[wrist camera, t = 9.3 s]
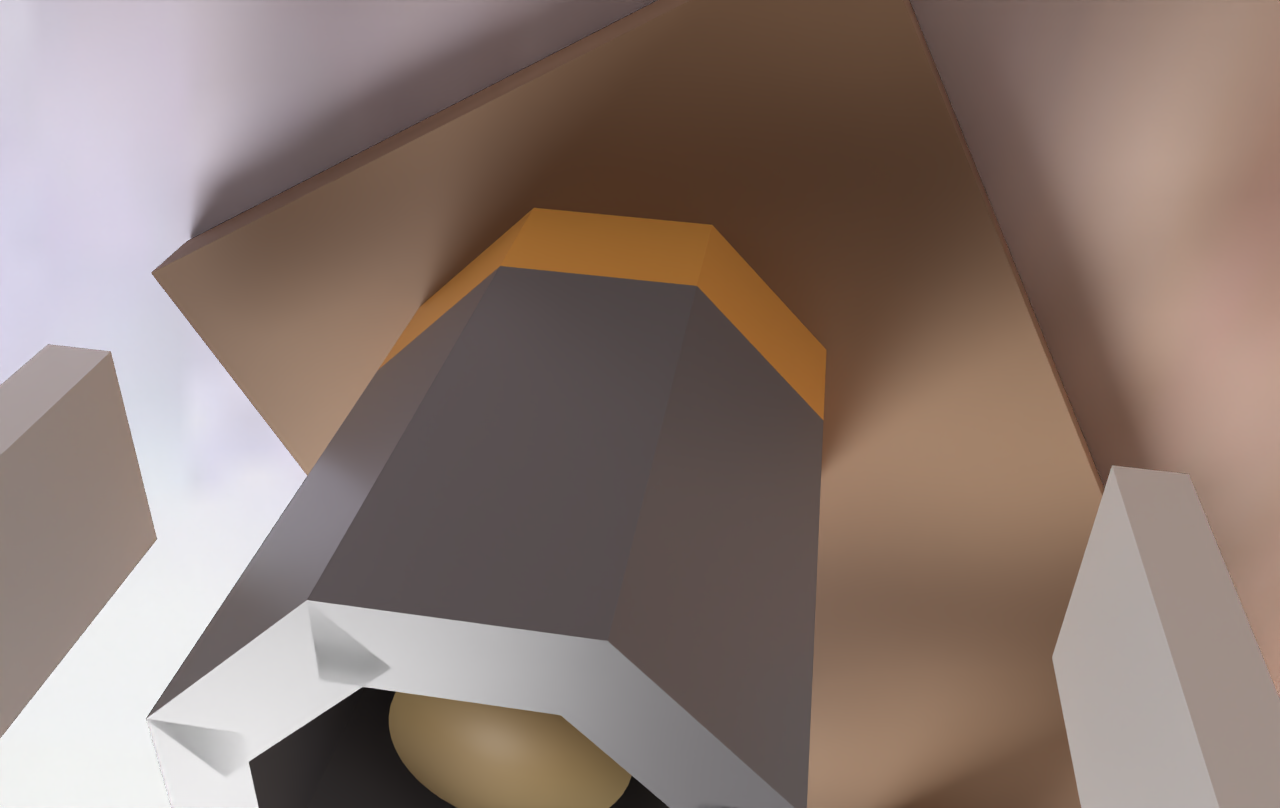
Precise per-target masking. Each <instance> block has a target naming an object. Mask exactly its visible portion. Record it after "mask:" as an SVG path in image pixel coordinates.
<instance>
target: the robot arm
mask: <svg viewBox="0 0 1280 808" xmlns="http://www.w3.org/2000/svg"><path fill="white" fill-rule="evenodd" d="M156 540H157V537H156V533H155V529H154V525H153V521H152V517H151V513H150V509H149V505H148V501H147V497H146V493H145V489H144V485H143V481H142V476H141V472H140V468H139V464H138V460H137V456H136V452H135V448H134V444H133V440H132V436H131V432H130V428H129V424H128V420H127V416H126V411H125V407H124V403H123V399H122V395H121V391H120V387H119V383H118V379H117V375H116V371H115V367H114V363H113V359H112V355H111V351H102V350H94V349H85V348H76V347H67V346H58V345H50V344H48V345H47V346H46V347H44V348H43V349H42V350H41V351H40V352H39V353H37V354H36V355H35V356H34V357H33V358H32V359H30V360H29V361H28V362H27V363H26V364H25V365H23V366H22V367H21V368H20V369H19V370H18V371H16V372H15V373H14V374H13V375H12V376H11V377H9V378H8V379H7V380H6V381H5V382H4V383H2V384H1V385H0V738H1V737H2V735H3V734H4V733H5V732H6V730H7V729H8V728H9V727H10V725H11V724H12V723H13V721H14V720H15V719H16V718H17V716H18V715H19V714H20V713H21V711H22V710H23V709H24V707H25V706H26V705H27V704H28V702H29V701H30V700H31V699H32V697H33V696H34V695H35V694H36V692H37V691H38V690H39V688H40V687H41V686H42V685H43V683H44V682H45V681H46V680H47V678H48V677H49V676H50V674H51V673H52V672H53V671H54V669H55V668H56V667H57V666H58V664H59V663H60V662H61V660H62V659H63V658H64V657H65V655H66V654H67V653H68V652H69V650H70V649H71V648H72V646H73V645H74V644H75V643H76V641H77V640H78V639H79V638H80V636H81V635H82V634H83V633H84V631H85V630H86V629H87V627H88V626H89V625H90V624H91V622H92V621H93V620H94V619H95V617H96V616H97V615H98V613H99V612H100V611H101V610H102V608H103V607H104V606H105V605H106V603H107V602H108V601H109V599H110V598H111V597H112V596H113V594H114V593H115V592H116V591H117V589H118V588H119V587H120V585H121V584H122V583H123V582H124V580H125V579H126V578H127V577H128V575H129V574H130V573H131V572H132V570H133V569H134V568H135V566H136V565H137V564H138V563H139V561H140V560H141V559H142V558H143V556H144V555H145V554H146V552H147V551H148V550H149V549H150V547H151V546H152V545H153V544H154V542H155V541H156ZM1052 660H1053V665H1054V670H1055V675H1056V680H1057V686H1058V691H1059V696H1060V701H1061V706H1062V711H1063V716H1064V722H1065V727H1066V732H1067V737H1068V742H1069V747H1070V752H1071V758H1072V763H1073V768H1074V773H1075V778H1076V783H1077V789H1078V794H1079V799H1080V804H1081V808H1280V698H1279V696H1278V693H1277V691H1276V688H1275V686H1274V683H1273V681H1272V678H1271V676H1270V674H1269V671H1268V669H1267V666H1266V664H1265V661H1264V659H1263V656H1262V654H1261V651H1260V649H1259V646H1258V644H1257V641H1256V639H1255V636H1254V634H1253V631H1252V629H1251V626H1250V624H1249V622H1248V619H1247V617H1246V614H1245V612H1244V609H1243V607H1242V604H1241V602H1240V599H1239V597H1238V594H1237V592H1236V589H1235V587H1234V584H1233V582H1232V579H1231V577H1230V574H1229V572H1228V569H1227V567H1226V565H1225V562H1224V560H1223V557H1222V555H1221V552H1220V550H1219V547H1218V545H1217V542H1216V540H1215V537H1214V535H1213V532H1212V530H1211V527H1210V525H1209V522H1208V520H1207V517H1206V515H1205V513H1204V510H1203V508H1202V505H1201V503H1200V500H1199V498H1198V495H1197V493H1196V490H1195V488H1194V485H1193V483H1192V480H1191V478H1190V475H1189V474H1184V473H1175V472H1167V471H1158V470H1149V469H1140V468H1131V467H1123V466H1114V465H1112V467H1111V470H1110V473H1109V477H1108V480H1107V483H1106V486H1105V489H1104V493H1103V496H1102V499H1101V502H1100V505H1099V509H1098V512H1097V515H1096V518H1095V521H1094V525H1093V528H1092V531H1091V534H1090V537H1089V541H1088V544H1087V547H1086V550H1085V553H1084V557H1083V560H1082V563H1081V566H1080V569H1079V573H1078V576H1077V579H1076V582H1075V585H1074V589H1073V592H1072V595H1071V598H1070V601H1069V605H1068V608H1067V611H1066V614H1065V617H1064V621H1063V624H1062V627H1061V630H1060V633H1059V637H1058V640H1057V643H1056V646H1055V649H1054V653H1053V656H1052Z"/></svg>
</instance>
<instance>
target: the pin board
mask: <svg viewBox="0 0 1280 808" xmlns="http://www.w3.org/2000/svg"><path fill="white" fill-rule="evenodd" d="M533 208H541V209H552V210H562V211H573V212H583V213H594V214H604V215H615V216H625V217H636V218H646V219H657V220H667V221H678V222H688V223H699V224H709V225H713V226H714V227H715V228H716V229H717V231H718V232H719V233H720V234H721V235H722V236H723V237H724V238H725V239H726V240H727V241H728V243H729V244H730V245H731V246H732V247H733V248H734V249H735V250H736V251H737V252H738V254H739V255H740V256H741V257H742V258H743V259H744V260H745V261H746V262H747V263H748V264H749V266H750V267H751V268H752V269H753V270H754V271H755V272H756V273H757V274H758V275H759V277H760V278H761V279H762V280H763V281H764V282H765V283H766V284H767V285H768V286H769V287H770V289H771V290H772V291H773V292H774V293H775V294H776V295H777V296H778V297H779V298H780V300H781V301H782V302H783V303H784V304H785V305H786V306H787V307H788V308H789V309H790V310H791V312H792V313H793V314H794V315H795V316H796V317H797V318H798V319H799V320H800V321H801V323H802V324H803V325H804V326H805V327H806V328H807V329H808V330H809V331H810V332H811V333H812V335H813V336H814V337H815V338H816V339H817V340H818V341H819V342H820V343H821V344H822V346H823V347H824V348H825V349H826V374H825V397H824V420H823V444H822V467H821V490H820V514H819V537H818V561H817V584H816V607H815V631H814V654H813V677H812V701H811V724H810V748H809V771H808V794H807V808H1081V804H1080V799H1079V794H1078V789H1077V783H1076V778H1075V773H1074V768H1073V763H1072V758H1071V752H1070V747H1069V742H1068V737H1067V732H1066V727H1065V722H1064V716H1063V711H1062V706H1061V701H1060V696H1059V691H1058V686H1057V680H1056V675H1055V670H1054V665H1053V660H1052V656H1053V653H1054V649H1055V646H1056V643H1057V640H1058V637H1059V633H1060V630H1061V627H1062V624H1063V621H1064V617H1065V614H1066V611H1067V608H1068V605H1069V601H1070V598H1071V595H1072V592H1073V589H1074V585H1075V582H1076V579H1077V576H1078V573H1079V569H1080V566H1081V563H1082V560H1083V557H1084V553H1085V550H1086V547H1087V544H1088V541H1089V537H1090V534H1091V531H1092V528H1093V525H1094V521H1095V518H1096V515H1097V512H1098V509H1099V505H1100V502H1101V499H1102V496H1103V493H1104V487H1103V484H1102V482H1101V479H1100V477H1099V474H1098V472H1097V469H1096V467H1095V464H1094V462H1093V459H1092V457H1091V454H1090V452H1089V449H1088V447H1087V444H1086V442H1085V439H1084V437H1083V434H1082V432H1081V429H1080V427H1079V424H1078V422H1077V419H1076V417H1075V414H1074V412H1073V409H1072V407H1071V404H1070V402H1069V399H1068V397H1067V394H1066V392H1065V389H1064V387H1063V384H1062V382H1061V379H1060V377H1059V374H1058V372H1057V369H1056V367H1055V364H1054V362H1053V359H1052V357H1051V354H1050V352H1049V349H1048V347H1047V344H1046V342H1045V339H1044V337H1043V334H1042V332H1041V329H1040V327H1039V324H1038V322H1037V319H1036V317H1035V314H1034V312H1033V309H1032V307H1031V304H1030V302H1029V299H1028V297H1027V294H1026V291H1025V289H1024V286H1023V284H1022V281H1021V279H1020V276H1019V274H1018V271H1017V269H1016V266H1015V264H1014V261H1013V259H1012V256H1011V254H1010V251H1009V249H1008V246H1007V244H1006V241H1005V239H1004V236H1003V234H1002V231H1001V229H1000V226H999V224H998V221H997V219H996V216H995V214H994V211H993V209H992V206H991V204H990V201H989V199H988V196H987V194H986V191H985V189H984V186H983V184H982V181H981V179H980V176H979V174H978V171H977V169H976V166H975V164H974V161H973V159H972V156H971V154H970V151H969V149H968V146H967V144H966V141H965V139H964V136H963V134H962V131H961V129H960V126H959V124H958V121H957V119H956V116H955V114H954V111H953V109H952V106H951V104H950V101H949V99H948V96H947V93H946V91H945V88H944V86H943V83H942V81H941V78H940V76H939V73H938V71H937V68H936V66H935V63H934V61H933V58H932V56H931V53H930V51H929V48H928V46H927V43H926V41H925V38H924V36H923V33H922V31H921V28H920V26H919V23H918V21H917V18H916V16H915V13H914V11H913V8H912V6H911V3H910V1H909V0H657V1H656V2H654V3H652V4H650V5H648V6H646V7H644V8H642V9H640V10H638V11H636V12H634V13H632V14H630V15H628V16H626V17H624V18H622V19H620V20H618V21H616V22H614V23H613V24H611V25H609V26H607V27H605V28H603V29H601V30H599V31H597V32H595V33H593V34H591V35H589V36H587V37H585V38H583V39H581V40H579V41H577V42H575V43H573V44H571V45H570V46H568V47H566V48H564V49H562V50H560V51H558V52H556V53H554V54H552V55H550V56H548V57H546V58H544V59H542V60H540V61H538V62H536V63H534V64H532V65H530V66H528V67H527V68H525V69H523V70H521V71H519V72H517V73H515V74H513V75H511V76H509V77H507V78H505V79H503V80H501V81H499V82H497V83H495V84H493V85H491V86H489V87H487V88H485V89H484V90H482V91H480V92H478V93H476V94H474V95H472V96H470V97H468V98H466V99H464V100H462V101H460V102H458V103H456V104H454V105H452V106H450V107H448V108H446V109H444V110H442V111H441V112H439V113H437V114H435V115H433V116H431V117H429V118H427V119H425V120H423V121H421V122H419V123H417V124H415V125H413V126H411V127H409V128H407V129H405V130H403V131H401V132H399V133H398V134H396V135H394V136H392V137H390V138H388V139H386V140H384V141H382V142H380V143H378V144H376V145H374V146H372V147H370V148H368V149H366V150H364V151H362V152H360V153H358V154H356V155H355V156H353V157H351V158H349V159H347V160H345V161H343V162H341V163H339V164H337V165H335V166H333V167H331V168H329V169H327V170H325V171H323V172H321V173H319V174H317V175H315V176H313V177H312V178H310V179H308V180H306V181H304V182H302V183H300V184H298V185H296V186H294V187H292V188H290V189H288V190H286V191H284V192H282V193H280V194H278V195H276V196H274V197H272V198H270V199H269V200H267V201H265V202H263V203H261V204H259V205H257V206H255V207H253V208H251V209H249V210H247V211H245V212H243V213H241V214H239V215H237V216H235V217H233V218H231V219H229V220H227V221H226V222H224V223H222V224H220V225H218V226H216V227H214V228H212V229H210V230H208V231H206V232H204V233H202V234H200V235H198V236H196V237H194V238H192V239H190V240H188V241H187V242H186V243H184V244H183V245H182V246H181V247H180V248H179V249H178V250H177V251H175V252H174V253H173V254H172V255H171V256H170V257H169V258H167V259H166V260H165V261H164V262H163V263H162V264H161V265H160V266H158V267H157V268H156V269H155V270H154V271H153V272H152V275H153V276H154V277H155V279H156V280H157V281H158V282H159V284H160V285H161V286H162V288H163V289H164V290H165V292H166V293H167V294H168V295H169V297H170V298H171V299H172V301H173V302H174V303H175V304H176V306H177V307H178V308H179V310H180V311H181V312H182V314H183V315H184V316H185V317H186V319H187V320H188V321H189V323H190V324H191V325H192V327H193V328H194V329H195V330H196V332H197V333H198V334H199V336H200V337H201V338H202V340H203V341H204V342H205V343H206V345H207V346H208V347H209V349H210V350H211V351H212V352H213V354H214V355H215V356H216V358H217V359H218V360H219V362H220V363H221V364H222V365H223V367H224V368H225V369H226V371H227V372H228V373H229V375H230V376H231V377H232V378H233V380H234V381H235V382H236V384H237V385H238V386H239V388H240V389H241V390H242V391H243V393H244V394H245V395H246V397H247V398H248V399H249V400H250V402H251V403H252V404H253V406H254V407H255V408H256V410H257V411H258V412H259V413H260V415H261V416H262V417H263V419H264V420H265V421H266V423H267V424H268V425H269V426H270V428H271V429H272V430H273V432H274V433H275V434H276V436H277V437H278V438H279V439H280V441H281V442H282V443H283V445H284V446H285V447H286V448H287V450H288V451H289V452H290V454H291V455H292V456H293V458H294V459H295V460H296V461H297V463H298V464H299V465H300V467H301V468H302V469H303V471H304V472H305V473H306V474H307V476H308V474H309V473H310V471H311V470H312V468H313V467H314V465H315V464H316V462H317V461H318V459H319V458H320V456H321V455H322V453H323V452H324V450H325V449H326V447H327V446H328V444H329V443H330V441H331V440H332V438H333V437H334V435H335V434H336V432H337V431H338V429H339V428H340V426H341V425H342V423H343V422H344V420H345V419H346V417H347V416H348V414H349V413H350V411H351V410H352V408H353V407H354V405H355V404H356V402H357V401H358V399H359V398H360V396H361V395H362V393H363V392H364V390H365V389H366V387H367V386H368V384H369V383H370V381H371V380H372V378H373V377H374V375H375V374H376V372H377V371H378V369H379V368H380V366H381V365H382V363H383V362H384V360H385V358H386V357H387V355H388V354H389V352H390V351H391V349H392V348H393V346H394V345H395V343H396V342H397V340H398V339H399V337H400V336H401V334H402V333H403V331H404V330H405V328H406V327H407V325H408V324H409V322H410V321H411V319H412V318H413V316H414V315H415V313H416V312H417V310H418V309H419V307H420V306H421V305H423V304H424V303H425V302H426V301H427V300H428V299H430V298H431V297H432V296H433V295H434V294H435V293H436V292H438V291H439V290H440V289H441V288H442V287H443V286H444V285H446V284H447V283H448V282H449V281H450V280H451V279H453V278H454V277H455V276H456V275H457V274H458V273H459V272H461V271H462V270H463V269H464V268H465V267H466V266H467V265H469V264H470V263H471V262H472V261H473V260H474V259H476V258H477V257H478V256H479V255H480V254H481V253H482V252H484V251H485V250H486V249H487V248H488V247H489V246H490V245H492V244H493V243H494V242H495V241H496V240H497V239H499V238H500V237H501V236H502V235H503V234H504V233H505V232H507V231H508V230H509V229H510V228H511V227H512V226H513V225H515V224H516V223H517V222H518V221H519V220H520V219H522V218H523V217H524V216H525V215H526V214H527V213H528V212H530V211H531V210H532V209H533ZM389 730H390V735H391V739H392V742H393V744H394V747H395V749H396V751H397V753H398V755H399V757H400V758H401V760H402V762H403V763H404V764H405V766H406V767H407V768H408V770H409V771H410V772H411V773H412V774H413V775H414V776H415V778H416V779H417V780H418V781H419V782H420V783H422V784H423V785H424V786H425V787H426V788H427V789H429V790H430V791H431V792H433V793H434V794H435V795H437V796H438V797H440V798H441V799H443V800H444V801H446V802H448V803H449V804H451V805H453V806H455V807H457V808H609V807H611V806H612V805H613V804H614V803H615V802H616V801H617V800H618V799H619V798H620V797H621V796H622V794H623V793H624V791H625V790H626V788H627V786H628V785H629V782H630V779H631V776H632V775H631V774H629V773H628V772H627V771H626V770H625V769H624V768H622V767H621V766H620V765H619V764H618V763H616V762H615V761H614V760H613V759H612V758H611V757H609V756H608V755H607V754H606V753H605V752H604V751H602V750H601V749H600V748H599V747H598V746H596V745H595V744H594V743H593V742H592V741H591V740H589V739H588V738H587V737H586V736H585V735H583V734H582V733H581V732H580V731H579V730H578V729H576V728H575V727H574V726H573V725H572V724H571V723H569V722H568V721H567V720H566V719H565V718H563V717H562V716H561V715H556V714H549V713H542V712H535V711H528V710H521V709H514V708H507V707H500V706H493V705H486V704H479V703H472V702H465V701H458V700H451V699H444V698H437V697H431V696H424V695H417V694H410V693H403V692H396V693H395V695H394V698H393V700H392V703H391V706H390V712H389Z"/></svg>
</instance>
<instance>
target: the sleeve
mask: <svg viewBox="0 0 1280 808" xmlns="http://www.w3.org/2000/svg"><path fill="white" fill-rule="evenodd" d="M825 374H826V349H825V348H824V347H823V346H822V344H821V343H820V342H819V341H818V340H817V339H816V338H815V337H814V336H813V335H812V333H811V332H810V331H809V330H808V329H807V328H806V327H805V326H804V325H803V324H802V323H801V321H800V320H799V319H798V318H797V317H796V316H795V315H794V314H793V313H792V312H791V310H790V309H789V308H788V307H787V306H786V305H785V304H784V303H783V302H782V301H781V300H780V298H779V297H778V296H777V295H776V294H775V293H774V292H773V291H772V290H771V289H770V287H769V286H768V285H767V284H766V283H765V282H764V281H763V280H762V279H761V278H760V277H759V275H758V274H757V273H756V272H755V271H754V270H753V269H752V268H751V267H750V266H749V264H748V263H747V262H746V261H745V260H744V259H743V258H742V257H741V256H740V255H739V254H738V252H737V251H736V250H735V249H734V248H733V247H732V246H731V245H730V244H729V243H728V241H727V240H726V239H725V238H724V237H723V236H722V235H721V234H720V233H719V232H718V231H717V229H716V228H715V227H714V226H713V225H709V224H699V223H688V222H678V221H667V220H657V219H646V218H636V217H625V216H615V215H604V214H594V213H583V212H573V211H562V210H552V209H541V208H533V209H532V210H531V211H530V212H528V213H527V214H526V215H525V216H524V217H523V218H522V219H520V220H519V221H518V222H517V223H516V224H515V225H513V226H512V227H511V228H510V229H509V230H508V231H507V232H505V233H504V234H503V235H502V236H501V237H500V238H499V239H497V240H496V241H495V242H494V243H493V244H492V245H490V246H489V247H488V248H487V249H486V250H485V251H484V252H482V253H481V254H480V255H479V256H478V257H477V258H476V259H474V260H473V261H472V262H471V263H470V264H469V265H467V266H466V267H465V268H464V269H463V270H462V271H461V272H459V273H458V274H457V275H456V276H455V277H454V278H453V279H451V280H450V281H449V282H448V283H447V284H446V285H444V286H443V287H442V288H441V289H440V290H439V291H438V292H436V293H435V294H434V295H433V296H432V297H431V298H430V299H428V300H427V301H426V302H425V303H424V304H423V305H421V306H420V307H419V309H418V310H417V312H416V313H415V315H414V316H413V318H412V319H411V321H410V322H409V324H408V325H407V327H406V328H405V330H404V331H403V333H402V334H401V336H400V337H399V339H398V340H397V342H396V343H395V345H394V346H393V348H392V349H391V351H390V352H389V354H388V355H387V357H386V358H385V360H384V362H383V363H382V365H381V366H380V368H379V369H378V371H377V372H376V374H375V375H374V377H373V378H372V380H371V381H370V383H369V384H368V386H367V387H366V389H365V390H364V392H363V393H362V395H361V396H360V398H359V399H358V401H357V402H356V404H355V405H354V407H353V408H352V410H351V411H350V413H349V414H348V416H347V417H346V419H345V420H344V422H343V423H342V425H341V426H340V428H339V429H338V431H337V432H336V434H335V435H334V437H333V438H332V440H331V441H330V443H329V444H328V446H327V447H326V449H325V450H324V452H323V453H322V455H321V456H320V458H319V459H318V461H317V462H316V464H315V465H314V467H313V468H312V470H311V471H310V473H309V474H308V476H307V477H306V479H305V480H304V482H303V483H302V485H301V486H300V488H299V489H298V491H297V492H296V494H295V495H294V497H293V498H292V500H291V501H290V503H289V504H288V506H287V507H286V509H285V510H284V512H283V513H282V515H281V516H280V518H279V519H278V521H277V522H276V524H275V525H274V527H273V528H272V530H271V531H270V533H269V534H268V536H267V537H266V539H265V540H264V542H263V543H262V545H261V547H260V548H259V550H258V551H257V553H256V554H255V556H254V557H253V559H252V560H251V562H250V563H249V565H248V566H247V568H246V569H245V571H244V572H243V574H242V575H241V577H240V578H239V580H238V581H237V583H236V584H235V586H234V587H233V589H232V590H231V592H230V593H229V595H228V596H227V598H226V599H225V601H224V602H223V604H222V605H221V607H220V608H219V610H218V611H217V613H216V614H215V616H214V617H213V619H212V620H211V622H210V623H209V625H208V626H207V628H206V629H205V631H204V632H203V634H202V635H201V637H200V638H199V640H198V641H197V643H196V644H195V646H194V647H193V649H192V650H191V652H190V653H189V655H188V656H187V658H186V659H185V661H184V662H183V664H182V665H181V667H180V668H179V670H178V671H177V673H176V674H175V676H174V677H173V679H172V680H171V682H170V683H169V685H168V686H167V688H166V689H165V691H164V692H163V694H162V695H161V697H160V698H159V700H158V701H157V703H156V704H155V706H154V707H153V709H152V710H151V712H150V713H149V715H148V716H147V718H146V721H147V724H148V728H149V731H150V735H151V738H152V742H153V745H154V749H155V752H156V756H157V759H158V763H159V766H160V770H161V773H162V777H163V781H164V784H165V788H166V791H167V795H168V798H169V802H170V805H171V808H457V807H455V806H453V805H451V804H449V803H448V802H446V801H444V800H443V799H441V798H440V797H438V796H437V795H435V794H434V793H433V792H431V791H430V790H429V789H427V788H426V787H425V786H424V785H423V784H422V783H420V782H419V781H418V780H417V779H416V778H415V776H414V775H413V774H412V773H411V772H410V771H409V770H408V768H407V767H406V766H405V764H404V763H403V762H402V760H401V758H400V757H399V755H398V753H397V751H396V749H395V747H394V744H393V742H392V739H391V735H390V730H389V712H390V706H391V703H392V700H393V698H394V695H395V693H396V692H403V693H410V694H417V695H424V696H431V697H437V698H444V699H451V700H458V701H465V702H472V703H479V704H486V705H493V706H500V707H507V708H514V709H521V710H528V711H535V712H542V713H549V714H556V715H561V716H562V717H563V718H565V719H566V720H567V721H568V722H569V723H571V724H572V725H573V726H574V727H575V728H576V729H578V730H579V731H580V732H581V733H582V734H583V735H585V736H586V737H587V738H588V739H589V740H591V741H592V742H593V743H594V744H595V745H596V746H598V747H599V748H600V749H601V750H602V751H604V752H605V753H606V754H607V755H608V756H609V757H611V758H612V759H613V760H614V761H615V762H616V763H618V764H619V765H620V766H621V767H622V768H624V769H625V770H626V771H627V772H628V773H629V774H631V775H632V776H631V779H630V782H629V785H628V786H627V788H626V790H625V791H624V793H623V794H622V796H621V797H620V798H619V799H618V800H617V801H616V802H615V803H614V804H613V805H612V806H611V807H609V808H807V794H808V771H809V748H810V724H811V701H812V677H813V654H814V631H815V607H816V584H817V561H818V537H819V514H820V490H821V467H822V444H823V420H824V397H825Z"/></svg>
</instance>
